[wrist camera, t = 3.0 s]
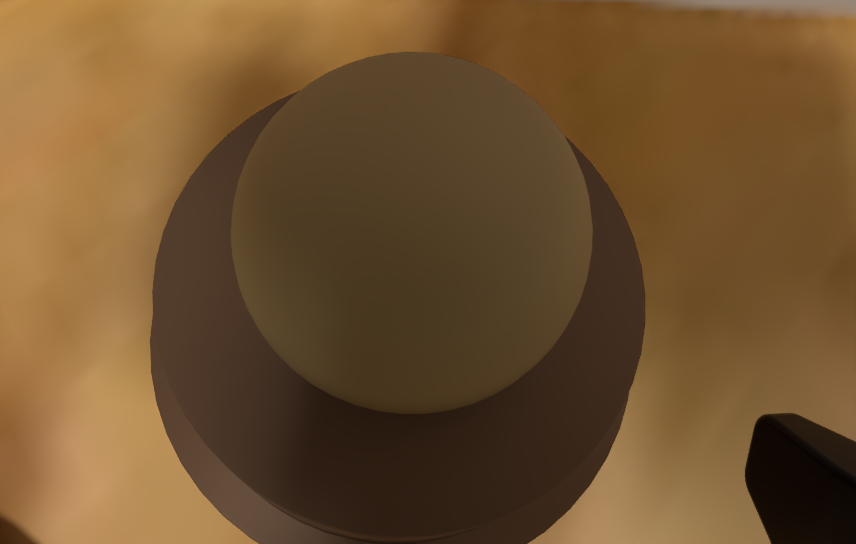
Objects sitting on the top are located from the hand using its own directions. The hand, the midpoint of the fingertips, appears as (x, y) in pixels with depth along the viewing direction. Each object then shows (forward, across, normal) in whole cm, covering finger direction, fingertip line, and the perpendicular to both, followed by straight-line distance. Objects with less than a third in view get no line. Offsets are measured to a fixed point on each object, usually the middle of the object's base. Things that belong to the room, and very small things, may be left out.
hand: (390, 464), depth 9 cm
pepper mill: (+7, 0, +5) cm, 9 cm away
